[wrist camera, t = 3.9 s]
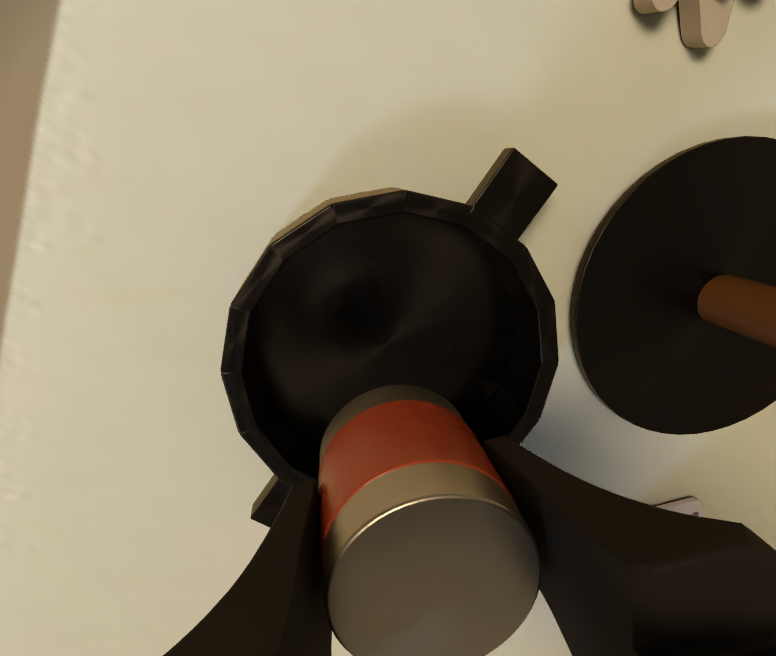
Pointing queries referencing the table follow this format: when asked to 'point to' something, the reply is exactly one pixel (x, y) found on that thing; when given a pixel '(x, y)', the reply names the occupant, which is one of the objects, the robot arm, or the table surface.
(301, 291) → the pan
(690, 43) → the game controller
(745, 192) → the pan lid
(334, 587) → the can
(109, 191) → the table surface
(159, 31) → the table surface
